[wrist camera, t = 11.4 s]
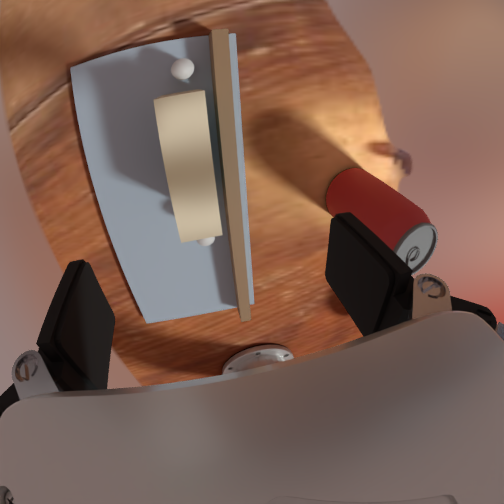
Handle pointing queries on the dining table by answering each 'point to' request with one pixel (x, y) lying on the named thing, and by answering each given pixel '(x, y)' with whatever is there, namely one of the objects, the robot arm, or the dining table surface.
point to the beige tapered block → (189, 163)
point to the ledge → (154, 176)
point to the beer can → (384, 215)
